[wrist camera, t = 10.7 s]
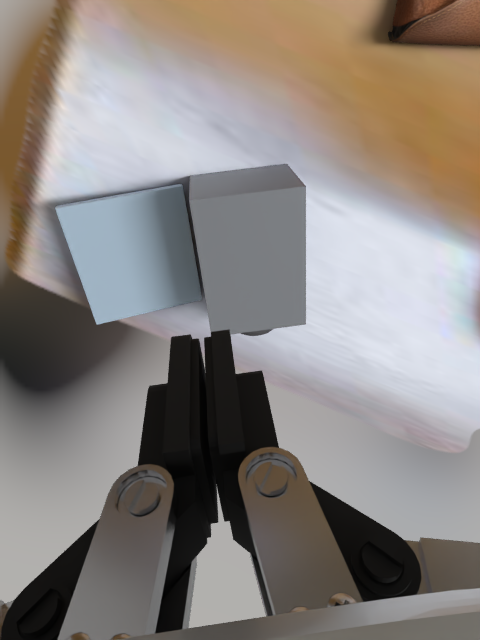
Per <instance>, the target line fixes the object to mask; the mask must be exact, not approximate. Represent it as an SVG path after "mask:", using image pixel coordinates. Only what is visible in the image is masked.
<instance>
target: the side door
mask: <svg viewBox="0 0 480 640" xmlns="http://www.w3.org/2000/svg"><path fill="white" fill-rule="evenodd" d="M55 210H56V213H57V215H58V218H59V221H60V224H61V227H62V229H63V232H64V235H65V238H66V241H67V243H68V246H69V249H70V252H71V254H72V257H73V260H74V263H75V266H76V268H77V271H78V274H79V277H80V279H81V282H82V285H83V288H84V291H85V293H86V296H87V299H88V302H89V304H90V307H91V310H92V313H93V316H94V318H95V321H96V324H102V323H106V322H110V321H114V320H119V319H123V318H127V317H131V316H135V315H140V314H144V313H148V312H152V311H157V310H161V309H165V308H169V307H173V306H178V305H182V304H186V303H190V302H195V301H199V300H202V296H201V290H200V284H199V278H198V272H197V267H196V261H195V255H194V249H193V243H192V237H191V231H190V226H189V220H188V214H187V208H186V202H185V196H184V191H183V186H182V184H177V185H171V186H165V187H160V188H154V189H148V190H143V191H137V192H131V193H126V194H120V195H114V196H109V197H103V198H97V199H92V200H86V201H80V202H75V203H69V204H64V205H58V206H56V207H55Z"/></svg>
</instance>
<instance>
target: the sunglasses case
mask: <svg viewBox="0 0 480 640" xmlns="http://www.w3.org/2000/svg"><path fill="white" fill-rule="evenodd" d="M388 36H389V38H390V40H391V41H392V42H399V43H402V42H405V43H419V44H446V45H477V46H478V45H479V46H480V0H397V4H396V11H395V14H394V20H393V30H392V32H388Z"/></svg>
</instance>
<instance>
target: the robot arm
mask: <svg viewBox="0 0 480 640" xmlns="http://www.w3.org/2000/svg"><path fill="white" fill-rule="evenodd" d="M204 345H205V368H204V363H203V358H202V352H201V347H200V342H199V339H192V337H191V335H183V336H175V337H172V338H171V348H170V361H169V373H168V383H167V384H160V385H153V386H150V387H149V389H148V394H147V401H146V408H145V417H144V423H143V432H142V438H141V446H140V453H139V461H138V466H136V467H134V468H132V469H129V470H128V471H126V472H125V473H124V474H122V475H121V476H120V477H119V478H118V479H117V480H116V481H115V483H114V484H113V486H112V488H111V489H110V492H109V493H108V496H107V499H106V502H105V505H104V508H103V511H102V513H101V516H100V519H99V520H98V521H97V522H96V523H95V524H94V525H92V526H91V527H90V528H89V529H88V530H87V531H86V532H85V533H84V534H83V535H82V536H81V537H80V538H78V539H77V540H76V541H75V542H74V543H73V544H72V545H71V546H70V547H69V548H68V549H67V550H66V551H64V553H62V554H61V555H60V556H59V557H58V558H57V559H56V560H55V561H54V562H53V563H52V564H50V565H49V566H48V567H47V568H46V569H45V570H44V571H43V572H42V573H41V574H40V575H39V576H38V577H37V578H35V579H34V580H33V581H32V582H31V583H30V584H29V585H28V586H27V587H26V588H25V589H24V590H23V591H22V592H21V593H20V594H19V595H18V597H17V598H16V599H15V600H13V601H11V602H8V603H4V602H3V601H0V640H480V543H473V542H463V541H453V540H441V539H431V538H420V541H419V542H418V541H406V540H403V539H402V538H401V537H399V536H398V535H397V534H395V533H394V532H392V531H391V530H389V529H387V528H386V527H384V526H382V525H381V524H379V523H377V522H376V521H374V520H373V519H371V518H369V517H368V516H366V515H364V514H363V513H361V512H359V511H358V510H356V509H354V508H353V507H351V506H350V505H348V504H346V503H344V502H343V501H341V500H340V499H338V498H336V497H335V496H333V495H331V494H330V493H328V492H326V491H325V490H323V489H321V488H320V487H318V486H316V485H315V484H313V483H312V482H310V481H309V480H308V478H307V475H306V473H305V471H304V469H303V467H302V465H301V463H300V462H299V460H298V459H297V457H295V456H294V455H293V454H292V453H290V452H289V451H286V450H284V449H281V448H279V446H278V442H277V437H276V432H275V428H274V423H273V418H272V414H271V409H270V405H269V400H268V395H267V391H266V386H265V381H264V377H263V373H262V371H255V372H248V373H241V374H235V367H234V359H233V351H232V344H231V336H230V329H228V330H221V331H213V332H211V337H206V338H204ZM205 371H206V374H205ZM216 484H217V488H218V493H219V498H220V503H221V508H222V512H223V517H224V521H230V525H231V530H232V534H233V540H235V541H236V542H237V543H238V544H240V545H241V546H242V547H243V548H245V549H246V550H247V551H248V552H250V556H251V561H252V564H253V568H254V572H255V576H256V580H257V583H258V587H259V591H260V595H261V599H262V603H263V606H264V610H265V614H266V617H260V618H254V619H247V620H241V621H234V622H228V623H221V624H214V625H208V626H202V627H195V628H188V627H189V619H190V612H191V604H192V597H193V589H194V581H195V574H196V566H197V559H196V557H197V555H198V554H199V552H200V551H201V550H202V549H203V548H204V547H205V545H206V544H207V538H208V537H211V523H217V522H218V507H217V488H216Z"/></svg>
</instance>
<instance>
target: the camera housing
mask: <svg viewBox="0 0 480 640" xmlns="http://www.w3.org/2000/svg"><path fill="white" fill-rule="evenodd" d="M189 203H190V209H191V215H192V221H193V227H194V233H195V239H196V245H197V251H198V257H199V263H200V269H201V275H202V281H203V287H204V293H205V299H206V305H207V311H208V317H209V323H210V329H211V332H213V331H221V330H228V329H230V334H237V333H241V334H244V335H249V336H258V335H263V334H266V333H268V332H270V331H271V330H273V329H275V328H282V327H290V326H297V325H305V324H306V186H305V185H304V184H303V182H302V181H301V180H300V179H299V178H298V176H297V175H296V174H295V173H294V172H293V171H292V169H291V168H290V167H289V166H288V165H287V164H283V165H274V166H266V167H258V168H250V169H241V170H233V171H225V172H217V173H209V174H200V175H192V176H190V189H189Z"/></svg>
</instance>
